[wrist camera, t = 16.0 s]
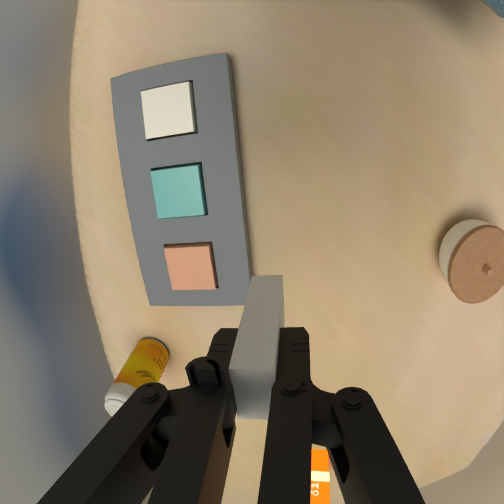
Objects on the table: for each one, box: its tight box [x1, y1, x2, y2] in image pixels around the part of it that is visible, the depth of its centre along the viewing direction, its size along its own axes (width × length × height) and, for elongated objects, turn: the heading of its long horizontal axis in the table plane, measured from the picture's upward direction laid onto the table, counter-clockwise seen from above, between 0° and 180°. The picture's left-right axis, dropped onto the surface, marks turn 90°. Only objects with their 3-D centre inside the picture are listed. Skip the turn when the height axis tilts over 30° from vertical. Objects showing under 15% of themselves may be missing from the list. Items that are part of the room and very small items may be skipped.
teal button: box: [151, 162, 208, 219], centre depth 39 cm, size 6×6×3 cm
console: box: [111, 53, 253, 306], centre depth 40 cm, size 32×15×3 cm, turn 5°
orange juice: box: [310, 449, 330, 504], centre depth 52 cm, size 8×9×20 cm
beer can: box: [105, 339, 169, 417], centre depth 46 cm, size 6×6×15 cm
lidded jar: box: [439, 219, 504, 304], centre depth 35 cm, size 11×11×9 cm
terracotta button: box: [164, 242, 218, 290], centre depth 43 cm, size 6×6×3 cm
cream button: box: [141, 82, 198, 139], centre depth 35 cm, size 6×6×3 cm
